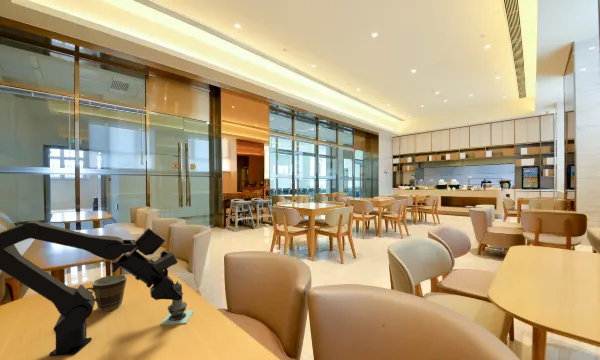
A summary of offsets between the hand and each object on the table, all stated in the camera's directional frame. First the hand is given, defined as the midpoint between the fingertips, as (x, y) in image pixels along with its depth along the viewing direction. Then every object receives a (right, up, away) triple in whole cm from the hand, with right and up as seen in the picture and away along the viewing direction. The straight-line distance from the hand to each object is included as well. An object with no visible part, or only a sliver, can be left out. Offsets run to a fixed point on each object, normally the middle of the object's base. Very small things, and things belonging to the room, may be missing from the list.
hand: (178, 293), depth 86 cm
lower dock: (0, -8, 0) cm, 8 cm away
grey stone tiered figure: (0, -8, 0) cm, 8 cm away
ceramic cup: (-29, -8, +6) cm, 31 cm away
